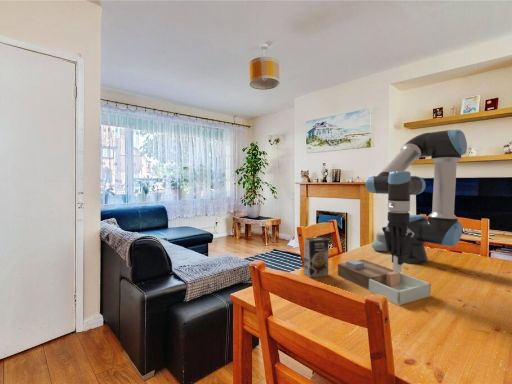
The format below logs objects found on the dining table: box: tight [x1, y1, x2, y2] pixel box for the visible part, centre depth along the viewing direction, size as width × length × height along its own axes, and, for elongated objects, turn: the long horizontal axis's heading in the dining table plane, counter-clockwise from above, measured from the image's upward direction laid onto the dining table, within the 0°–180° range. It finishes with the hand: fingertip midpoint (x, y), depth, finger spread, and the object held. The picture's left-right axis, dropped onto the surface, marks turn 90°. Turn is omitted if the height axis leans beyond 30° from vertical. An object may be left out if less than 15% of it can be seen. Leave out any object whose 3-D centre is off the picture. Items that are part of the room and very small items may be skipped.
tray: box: [368, 272, 432, 306], centre depth 101 cm, size 17×13×5 cm
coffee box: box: [303, 236, 330, 278], centre depth 121 cm, size 9×6×16 cm
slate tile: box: [345, 259, 364, 269], centre depth 116 cm, size 5×5×2 cm
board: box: [337, 259, 393, 291], centre depth 115 cm, size 15×18×5 cm
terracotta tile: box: [386, 272, 401, 287], centre depth 107 cm, size 5×5×2 cm
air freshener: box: [371, 232, 388, 253], centre depth 159 cm, size 11×8×10 cm
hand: (397, 272), depth 106 cm, fingers closed
